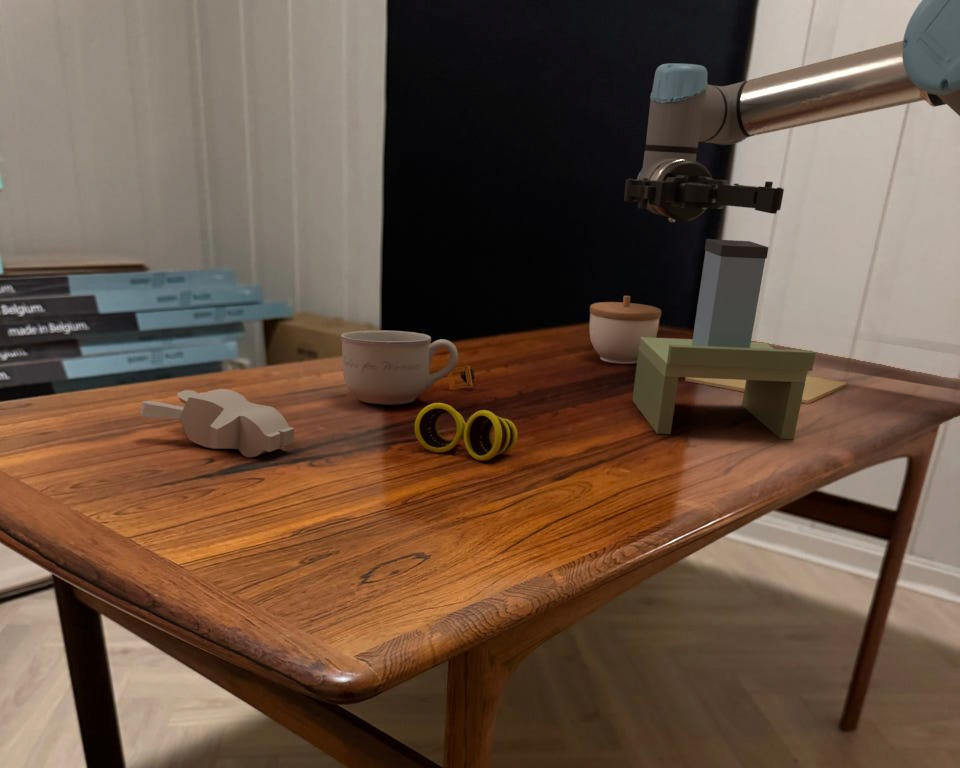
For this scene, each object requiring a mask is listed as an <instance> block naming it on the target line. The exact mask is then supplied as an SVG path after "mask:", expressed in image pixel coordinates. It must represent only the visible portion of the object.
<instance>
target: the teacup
mask: <svg viewBox="0 0 960 768" xmlns="http://www.w3.org/2000/svg"><path fill="white" fill-rule="evenodd" d="M340 339H341V356H342V357H341V358H342V361H341V362H342V373H343V381H344V383H345V386H346V388H347V389H348V390H349V392H351V393H352V394H353V395H355V396H356V398H357V399H358V400H359V401H360V402H363V403H366V404H370V405H371V404H372V405H385V406H386V405H388V406H389V405H390V406H393V405H394V406H395V405H396V406H397V405H405V404H410V403H412V402H414V401H415V400H416V399H417V398H418V397H419V396H420V395H421V394H422V393H424V391H425V390H427V389H431V388H432V387H434V385H435V383H436V382H438V381H439V380H440V381H441V379H443V378H445V377H448V374H449V373H451V372H453V371H452V370H455V369H454V368H457V367H456V366H457V364H458V361H459V352H458V349H457V347H456V345H455V344H454V343H453V342H452V341H450V340H448V339H437V340H435V341H433V342H432V337H431V336H430V335H428V334H425V333H420V332H415V331H414V332H413V331H403V330H381V329H380V330H379V329H378V330H357V331H348V332H344V333H341V335H340ZM439 349H445V350H447V351H448V353H449V356H450V357H449V361H448V363H447V364H446V366H444V367H443V368H441V369H440V370H439V371H436V372H434V373H430V371H431V370H430V368H431V362H432V361H433V359H434V357H435V353H436V351H437V350H439Z"/></svg>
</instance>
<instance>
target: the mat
mask: <svg viewBox="0 0 960 768" xmlns="http://www.w3.org/2000/svg"><path fill="white" fill-rule="evenodd" d="M684 378H685V379H684V381H685V382H688V383H694V384H700V385H704V386H708V387H709V386H710V387H715V388H719V389H725V390H730V391H735V392H736V391H737V392H741V393H742V392H743V393H744V390H745V384H746V380H736V379H713V378H689V377H684ZM847 386H848V382H845V381H839V380H833V379H828V378H821V377H815V376H811V375H807V377H806V382H805V387H804V391H803V396H802V401H801V404H804V405H805V404H806V405H809V404H811V403H813V402H815V401H817V400H819V399H820V400H821V399H822V398H824V397H826V396H829V395H830V394H832V393H835V392H837V391H839V390H841V389H844V388H846V387H847Z"/></svg>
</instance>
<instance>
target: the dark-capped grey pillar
mask: <svg viewBox="0 0 960 768" xmlns="http://www.w3.org/2000/svg"><path fill="white" fill-rule="evenodd" d="M704 244H705V245H704V250H705V253H704V259H703V265H702V273H701V280H700V286H699V293H698V300H697V306H696V314H695V321H694V328H693V333H692V335H693V336H692V339H693V340H692V345H695V346H717V347H740V348H750V345H751V342H752V339H753V332H754V326H755V321H756V315H757V309H758V304H759V298H760V294H761V293H760V292H761V288H762V287H761V286H762V282H763V275H764V269H765V264H766V259H767V258H768V253H769V246H766V245H763V244H760V243H756V242H754V241H751V240H735V239H734V240H732V239H715V238H714V239H713V238H706V239H705V243H704Z"/></svg>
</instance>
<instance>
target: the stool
mask: <svg viewBox="0 0 960 768" xmlns="http://www.w3.org/2000/svg"><path fill="white" fill-rule="evenodd" d="M692 340H693V338H669V337H656V338H649V337H640V342H639V351H638V359H637V363H636V368H635V374H634V375H635V376H634V384H633V392H632V403H633V404H634V405H635V406H636V408H637V409H638V410H639V412H640V413H641V414H642V416H643V417H644V418H645V420H646V421H647V422H648V424H649V425H650V426H651V427H652V429H653V431H654V432H655V433H656V435H671V434H672V433H671V432H672V427H673V421H674V420H673V419H674V415H675V406H676V401H677V393H678V386H679V378H686V377H689V378H713V379H736V380H746V384H745V390H744V392H743V396H742V400H741V406H742V407H743V408H744V409H745V410H747V411H748V412H749V413H750V414H751V415H753V417H754V418H756V419H757V420H758V421H759V422H760V423H762V424H763V426H765V427H766V428H767V429H769V430H770V431H771V432H772V433H773V434H774V435H775V436H777V437H778V438H779V439H780V440H794V439H795V436H796V431H797V425H798V421H799V415H800V410H801V406H802V403H801V401H802V396H803V391H804V387H805V382H806V377H807V376H808V372H812V371H813V367H814V363H815V362H814V361H815V358H816V352H815V351H813V350H807V349H804V350H803V349H786V348H785V349H782V348H774V347H773V346H771V345H770V344H768V343H767V342H763V341H762V342H761V341H760V342H759V341H758V342H757V341H751V345H750V348H740V347H717V346H695V345H692Z"/></svg>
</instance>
